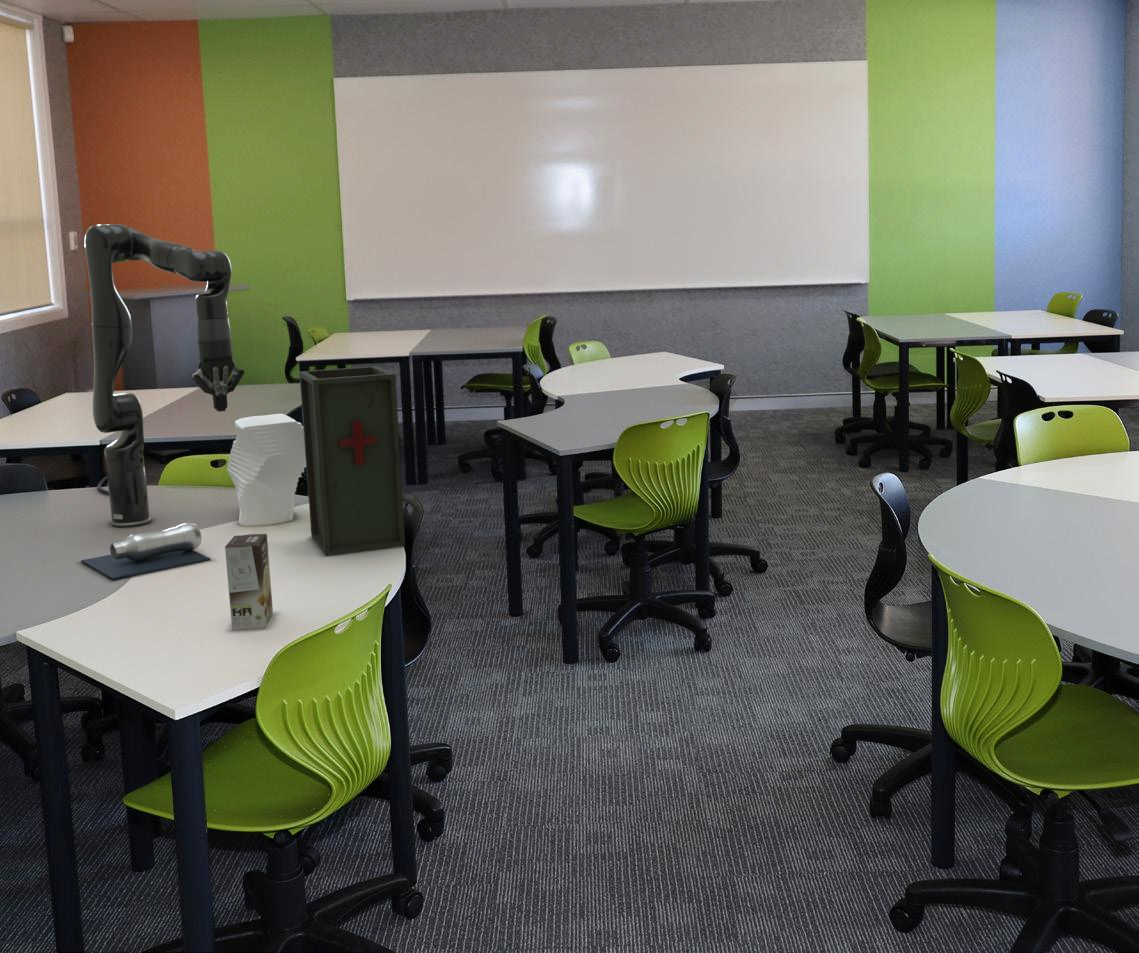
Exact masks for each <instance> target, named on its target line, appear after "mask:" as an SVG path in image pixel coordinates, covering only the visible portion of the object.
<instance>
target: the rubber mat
mask: <svg viewBox="0 0 1139 953" xmlns="http://www.w3.org/2000/svg"><path fill="white" fill-rule="evenodd" d="M210 561H211V557H209V556H206V555H204V554H202V553H200V552H197V551H195V550H192V551H177V552H169V553H165V554H161V555H157V556H153V557H151V558H148V559H145V560H142V561H133V560H130V559H128V558H126V557H124V558H123V559H116V560H114V559H113V558H112V556H111V554H107V555H101V556H96V557H91V558H85V559H81V560H80V563H81V564H83V565H84V566H86V567H88V568H90V569H92V571H93V570H94V571H95V572H97V573H99V574H101V575H102V576H104V577H106V578H107V579H109V580H110V581H118V580H122V579H123V580H124V579H128V578H133V577H138V576H142V575H146V574H147V575H148V574H152V573H156V572H162V571H166V570H171V569H176V568H182V567H185V566H186V567H187V566H191V565H197V564H200V563H206V562H210Z"/></svg>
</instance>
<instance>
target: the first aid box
mask: <svg viewBox="0 0 1139 953" xmlns="http://www.w3.org/2000/svg"><path fill="white" fill-rule="evenodd" d="M298 373H299V374H298V376H299V386H300V387H299V388H300V401H301V403H300V404H301V415H302V426H303V429H304V443H305V456H306V467H305V468H306V480H307V494H308V496H307V497H308V508H309V521H310V523H309V524H310V536H311V539H312V540H313V541H314V543H315V544H316V545H317V547H318V548H319V549H320V550H321V552H322V553H323V554H324V556H325V557H329V556H335V555H344V554H353V553H361V552H368V551H377V550H385V549H393V548H400V547H406V533H405V515H404V514H405V513H404V499H403V498H404V497H403V481H402V466H401V448H400V431H399V429H400V428H399V414H398V397H397V396H398V395H397V380H396V373H394V372H392V371H389V370H387V369H385V368H382V367H380V366H378V365H376V366H375V365H374V366H361V367H360V366H359V367H345V368H331V369H330V368H329V369H318V370H304V371H298Z"/></svg>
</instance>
